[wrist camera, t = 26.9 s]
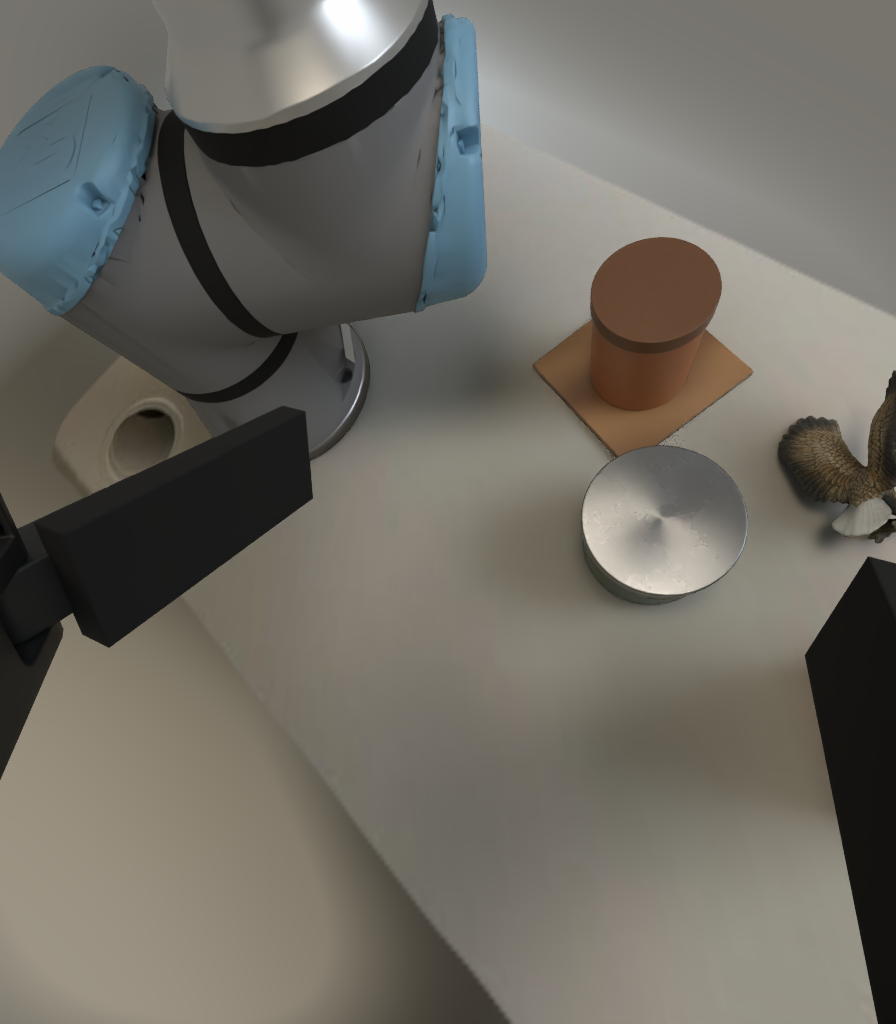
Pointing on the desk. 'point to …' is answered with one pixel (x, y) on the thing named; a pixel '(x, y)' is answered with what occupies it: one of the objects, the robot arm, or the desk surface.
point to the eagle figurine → (849, 469)
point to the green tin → (662, 524)
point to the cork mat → (637, 429)
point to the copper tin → (650, 320)
